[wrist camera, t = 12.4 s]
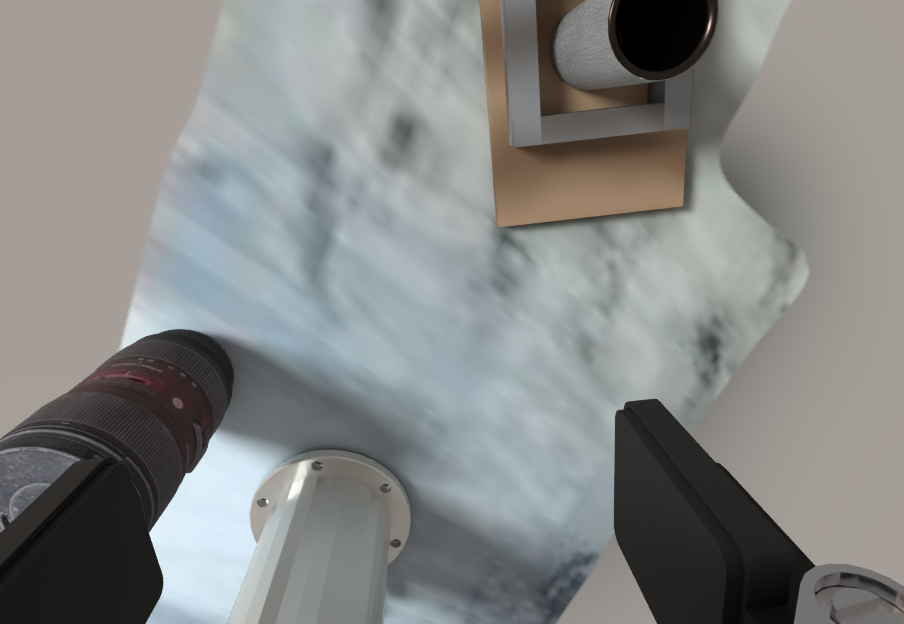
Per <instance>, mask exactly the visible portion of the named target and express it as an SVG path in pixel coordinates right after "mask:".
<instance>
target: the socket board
mask: <svg viewBox="0 0 904 624" xmlns="http://www.w3.org/2000/svg"><path fill="white" fill-rule="evenodd" d="M584 1H586V0H480V13H481V26H482V39H483V52H484V65H485V78H486V91H487V105H488V118H489V131H490V144H491V157H492V170H493V183H494V196H495V210H496V223H497V225H498V227H506V226H515V225H524V224H532V223H541V222H550V221H559V220H567V219H576V218H585V217H593V216H602V215H611V214H620V213H628V212H637V211H646V210H654V209H663V208H672V207H681V206H683V197H684V177H685V156H686V136H687V128H690V116H691V96H692V76H693V66H692V67H691V68H690V69H688V70H687V71H686V72H684V73H682V74H680V75H679V76H676V77H674V78H671V79H668V80H664V81H657V82H650V83H642V84H635V85H627V86H619V87H612V88H604V89H597V90H581V89H577V88H574V87H571V86H570V85H568V84H567V83H565V82H564V81H563V80H562V79H561V78H560V76H559V75H558V74H557V72H556V70H555V68H554V65H553V61H552V56H551V46H552V40H553V36H554V33H555V31H556V29H557V27H558V25H559V24H560V22H561V21H562V19H563V18H564V17H565V16H566V15H567V14H568V13H569V12H570V11H572V10H573V9H574V8H576V7H577V6H579V5H580V4H581V3H583V2H584Z"/></svg>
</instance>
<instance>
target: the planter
mask: <svg viewBox="0 0 904 624" xmlns="http://www.w3.org/2000/svg"><path fill="white" fill-rule="evenodd" d="M717 20H718V0H586V1H584V2H583V3H581V4H580V5H579V6H577V7H576V8H574V9H573V10H572V11H570V12H569V13H568V14H567V15H566V16H565V17H564V18H563V19H562V21H561V22H560V24H559V25H558V27H557V29H556V31H555V33H554V36H553V40H552V46H551V56H552V61H553V65H554V68H555V70H556V72H557V74H558V75H559V76H560V78H561V79H562V80H563V81H564V82H565V83H567V84H568V85H570V86H571V87H574V88H577V89H581V90H597V89H604V88H612V87H619V86H627V85H635V84H642V83H650V82H657V81H664V80H668V79H671V78H674V77H676V76H679V75H680V74H682V73H684V72H686V71H687V70H688V69H690V68H691V67H692V66H693V65H694V64H695V63H696V62H697V61H698V60H699V59H700V58H701V57H702V55H703V54H704V53H705V51H706V50H707V48H708V46H709V44H710V42H711V40H712V38H713V35H714V33H715V29H716V25H717Z"/></svg>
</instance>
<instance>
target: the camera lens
mask: <svg viewBox="0 0 904 624" xmlns="http://www.w3.org/2000/svg"><path fill="white" fill-rule="evenodd" d="M233 380H234V373H233V368H232V365H231V362H230V359H229V358H228V356H227V354H226V353H225V351H224V350H223V349H222V348H221V347H220V346H219V345H218V344H217V343H216V342H215V341H213V340H211V339H210V338H208V337H207V336H205V335H202V334H200V333H197V332H194V331H190V330H182V329H176V330H168V331H164V332H161V333H159V334H154V335H150V336H146V337H144V338H142V339H140V340H138V341H137V342H135V343H133V344H132V345H130V346H128V347H126V348H124V349H122V350H121V351H119V352H118V353H116V354H115V355H114V356H112V357H111V358H109V359H108V360H107V361H106V362H104V363H103V364H102V365H101V366H100V367H99V368H97V369H96V371H95V372H93V373H92V374H91V375H89V376H88V377H87V378H86V379H84V380H83V381H82V382H81V383H79V384H78V385H77V386H75V387H74V388H73V389H71V390H70V391H69V392H68V393H66V394H64V395H62V396H60V397H58V398H57V399H55V400H53V401H51V402H50V403H48V404H46V405H44V406H43V407H41V408H40V409H39V410H38V411H36V412H35V413H34V414H33V415H31V416H30V417H29V418H28V419H26V420H25V421H23V422H22V423H21V424H19V425H18V426H17V427H15V429H13V430H11V431H10V432H9V433H8V434H6V435H5V436H3V437H2V438H1V439H0V532H1V531H3V530H4V529H5V528H6V527H7V526H8V525H9V524H10V523H11V522H12V521H13V520H14V519H15V518H16V517H17V516H18V515H19V514H20V513H21V512H23V511H24V510H25V509H26V508H27V507H28V506H29V505H30V504H31V503H32V502H33V501H34V500H35V499H36V498H37V497H38V496H39V495H40V494H42V493H43V492H44V491H45V490H46V489H47V488H48V487H49V486H50V485H51V484H52V483H53V482H54V481H55V480H56V479H57V478H58V477H59V476H60V475H62V474H63V473H64V472H65V471H66V470H67V469H68V468H69V467H70V466H71V465H72V464H73V463H75V462H76V461H80V460H89V459H98V458H107V457H111V458H114V459H115V460H116V461H117V462H118V463H119V464H123V465H125V466H126V467H127V469H128V471H129V474H130V477H131V480H132V483H133V486H134V490H135V493H136V496H137V499H138V502H139V505H140V508H141V511H142V514H143V517H144V520H145V523H146V526H147V529H148V532H150V531H151V529H152V528H153V526H154V525H155V523H156V522H157V520H158V519H159V517H160V516H161V514H162V513H163V512H164V510H165V509H166V507H167V506H168V504H169V503H170V501H171V500H172V498H173V497H174V495H175V493H176V492H177V489H178V487H179V485H180V484H181V482H182V480H183V478H184V476H185V474H186V473H191V472H192V471H193V470H194V468H195V467H196V465H197V464H198V462H199V461H200V460H201V458H202V457H203V455H204V454H205V452H206V450H207V448H208V443H209V440H210V439H211V437H212V436H213V434H214V433H215V431H216V430H217V428H218V427H219V425H220V423H221V421H222V419H223V417H224V414H225V412H226V410H227V408H228V406H229V403H230V400H231V397H232V388H233V387H232V386H233Z"/></svg>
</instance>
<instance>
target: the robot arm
mask: <svg viewBox="0 0 904 624" xmlns="http://www.w3.org/2000/svg"><path fill="white" fill-rule="evenodd" d="M250 527H251V530H252V534H253V537H254V539H255V541H256V543H257V546H256V549H255V552H254V554H253V557H252V559H251V562H250V565H249V567H248V570H247V572H246V575H245V577H244V580H243V583H242V585H241V588H240V590H239V593H238V595H237V598H236V601H235V603H234V606H233V608H232V611H231V614H230V616H229V619H228V621H227V624H383V622H384V609H385V597H386V584H387V572H388V565H389V564H390V563H391V562H392V561H393V560H394V559H396V557H397V556H398V555H399V553H400V552H401V551H402V549H403V548H404V546H405V544H406V541H407V539H408V537H409V532H410V527H411V509H410V503H409V499H408V497H407V494H406V492H405V489H404V488H403V486H402V485H401V483H400V482H399V481H398V479H397V478H396V477H395V476H394V475H393V474H392V473H391V472H390V471H389V470H388V469H387V468H385V467H384V466H382V465H381V464H379V463H378V462H376V461H374V460H372V459H370V458H367V457H365V456H363V455H360V454H357V453H352V452H348V451H343V450H331V449H328V450H315V451H310V452H306V453H302V454H298V455H296V456H293V457H291V458H289V459H287V460H285V461H283V462H282V463H280V464H279V465H277V466H276V467H274V468H273V469H272V470H271V471H270V472H269V473H268V474H267V475H266V476H265V477H264V479H263V480H262V482H261V483H260V485H259V487H258V488H257V490H256V493H255V495H254V497H253V500H252V503H251V509H250ZM614 530H615V535H616V539H617V542H618V544H619V546H620V549H621V551H622V553H623V555H624V557H625V558H626V561H627V563H628V565H629V567H630V569H631V571H632V573H633V575H634V577H635V579H636V581H637V583H638V585H639V587H640V590H641V592H642V593H643V596H644V598H645V600H646V602H647V604H648V606H649V608H650V610H651V612H652V614H653V616H654V618H655V620H656V622H657V624H904V586H902V585H901V584H899V583H897V582H896V581H894V580H892V579H891V578H888V577H886V576H883V575H881V574H879V573H876V572H874V571H871V570H869V569H865V568H861V567H857V566H853V565H848V564H825V565H820V566H815V565H814V564H813V563H812V562H811V561H810V559H809V558H808V557H807V556H806V555H805V554H804V553H803V552H802V551H801V550H800V549H799V548H798V547H797V545H796V544H795V543H794V542H793V541H792V540H791V539H790V538H789V537H788V536H787V535H786V533H785V532H784V531H783V530H782V529H781V528H780V527H779V526H778V525H777V524H776V523H775V522H774V521H773V519H772V518H771V517H770V516H769V515H768V514H767V513H766V512H765V511H764V510H763V509H762V507H761V506H760V505H759V504H758V503H757V502H756V501H755V500H754V499H753V498H752V497H751V496H750V495H749V493H748V492H747V491H746V490H745V489H744V488H743V487H742V486H741V485H740V484H739V483H738V481H737V480H735V478H734V477H733V476H732V475H731V474H730V473H729V472H728V471H727V470H726V469H725V468H724V467H723V466H722V465H721V464H719V463H716V462H714V460H713V459H712V458H711V457H710V456H709V455H708V454H707V453H706V452H705V451H704V449H703V448H702V447H701V446H700V445H699V444H698V443H697V442H696V441H695V440H694V438H693V437H692V436H691V435H690V434H689V433H688V432H687V431H686V430H685V429H684V427H683V426H682V425H681V424H680V423H679V422H678V421H677V420H676V419H675V418H674V416H673V415H672V414H671V413H670V412H669V411H668V410H667V409H666V408H665V407H664V405H663V404H662V403H661V402H660V401H659V400H657V399H648V400H638V401H629V402H626V403H625V406H624V410H618V411H617V412H616V415H615V473H614ZM162 590H163V575H162V572H161V569H160V566H159V563H158V559H157V556H156V553H155V550H154V547H153V544H152V541H151V538H150V535H149V532H148V529H147V526H146V523H145V520H144V517H143V514H142V511H141V508H140V505H139V502H138V499H137V496H136V493H135V490H134V486H133V483H132V480H131V477H130V474H129V471H128V469H127V467H126V466H125V465H123V464H119V463H118V462H117V461H116V460H115V459H114V458H111V457H107V458H98V459H89V460H80V461H76V462H75V463H73V464H72V465H71V466H70V467H69V468H68V469H67V470H66V471H65V472H64V473H63V474H62V475H60V476H59V477H58V478H57V479H56V480H55V481H54V482H53V483H52V484H51V485H50V486H49V487H48V488H47V489H46V490H45V491H44V492H43V493H42V494H40V495H39V496H38V497H37V498H36V499H35V500H34V501H33V502H32V503H31V504H30V505H29V506H28V507H27V508H26V509H25V510H24V511H23V512H21V513H20V514H19V515H18V516H17V517H16V518H15V519H14V520H13V521H12V522H11V523H10V524H9V525H8V526H7V527H6V528H5V529H4V530H3V531H1V532H0V624H145V623H146V622H147V620H148V618H149V616H150V614H151V613H152V611H153V609H154V607H155V605H156V604H157V602H158V600H159V598H160V596H161V593H162Z"/></svg>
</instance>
